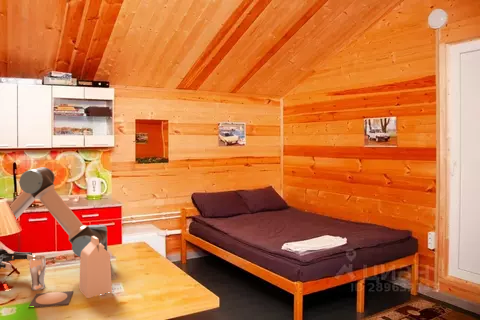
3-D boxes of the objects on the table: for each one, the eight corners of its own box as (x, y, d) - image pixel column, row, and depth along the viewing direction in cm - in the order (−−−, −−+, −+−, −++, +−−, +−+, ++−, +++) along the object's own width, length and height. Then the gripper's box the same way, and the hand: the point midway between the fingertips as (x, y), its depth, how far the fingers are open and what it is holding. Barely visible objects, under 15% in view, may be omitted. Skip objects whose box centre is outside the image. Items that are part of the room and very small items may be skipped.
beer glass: (33, 285, 205) (33, 255, 204) (48, 285, 206) (47, 255, 205) (27, 291, 198) (27, 260, 197) (43, 290, 199) (42, 259, 198)
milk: (79, 289, 201) (78, 236, 199) (103, 284, 208) (102, 233, 206) (87, 298, 192) (86, 242, 189) (112, 292, 199) (111, 238, 196)
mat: (73, 292, 197) (73, 290, 197) (68, 305, 184) (68, 302, 184) (36, 295, 194) (36, 292, 194) (28, 308, 180) (28, 305, 180)
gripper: (19, 256, 227) (46, 263, 217) (-28, 269, 205) (-1, 278, 195) (19, 242, 226) (46, 249, 217) (-29, 254, 204) (-1, 262, 194)
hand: (23, 263), depth 206 cm, fingers open, 13 cm apart
